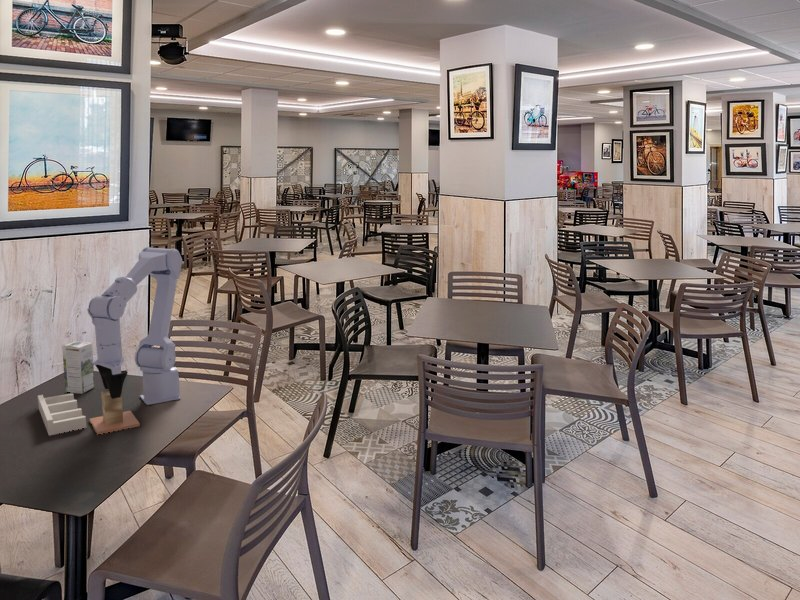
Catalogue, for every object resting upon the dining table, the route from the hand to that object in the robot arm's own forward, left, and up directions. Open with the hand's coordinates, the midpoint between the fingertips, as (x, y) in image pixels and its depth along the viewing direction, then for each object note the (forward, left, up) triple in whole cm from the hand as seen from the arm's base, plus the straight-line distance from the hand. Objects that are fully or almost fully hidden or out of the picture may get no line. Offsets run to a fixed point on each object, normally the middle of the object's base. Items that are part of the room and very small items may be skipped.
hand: (112, 392), depth 151 cm
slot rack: (+11, -11, -8) cm, 17 cm away
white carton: (+3, -31, -9) cm, 32 cm away
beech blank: (0, 0, -8) cm, 8 cm away
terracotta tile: (0, 0, -9) cm, 9 cm away
